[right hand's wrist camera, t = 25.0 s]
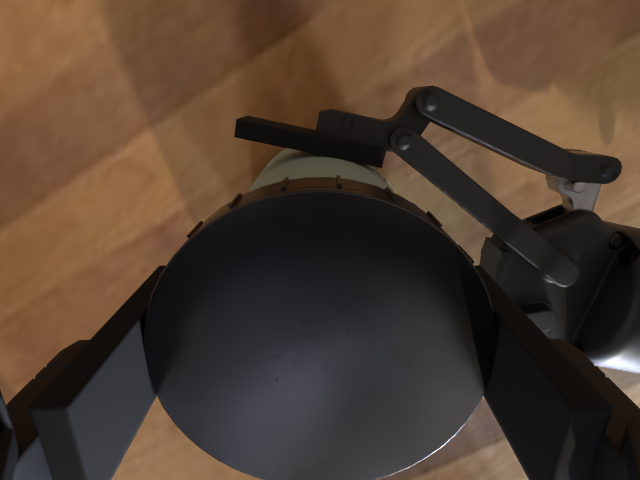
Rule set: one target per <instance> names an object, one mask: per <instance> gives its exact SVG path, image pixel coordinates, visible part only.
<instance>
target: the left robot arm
mask: <svg viewBox="0 0 640 480" xmlns="http://www.w3.org/2000/svg"><path fill="white" fill-rule="evenodd" d="M429 122H432V123H434V124H436V125H438V126H441V127H443V128H445V129H447V130H449V131H451V132H453V133H455V134H457V135H459V136H462V137H464V138H466V139H468V140H470V141H472V142H474V143H476V144H478V145H480V146H483V147H485V148H487V149H489V150H491V151H493V152H495V153H497V154H499V155H501V156H504V157H506V158H508V159H510V160H512V161H514V162H516V163H518V164H520V165H522V166H525V167H527V168H530V169H532V170H535V171H538V172H541V173H544V174H547V175H546V180H547V184H548V187H549V188H550V189H551V190H552V191H555V192H557V193H559V194H560V195H561V196H562V200H563V202H562V204H561V205H558V206H555V207H553V208H550V209H548V210H545V211H543V212H540V213H538V214H535V215H533V216H530V217H528V218H525V219H523V220H521V219H519V218H518V217H517V216H515V215H514V214H513V213H511V212H510V211H509V210H508V209H507V208H505V207H504V206H503V205H502V204H501V203H500V202H498V201H497V200H496V199H495V198H494V197H492V196H491V195H490V194H489V193H488V192H486V191H485V190H484V189H483V188H482V187H481V186H479V185H478V184H477V183H476V182H475V181H473V180H472V179H471V178H470V177H469V176H467V175H466V174H465V173H464V172H463V171H462V170H460V169H459V168H458V167H457V166H456V165H454V164H453V163H452V162H451V161H450V160H448V159H447V158H446V157H445V156H444V155H443V154H441V153H440V152H439V151H438V150H437V149H435V148H434V147H433V146H432V145H431V144H430V143H428V142H427V141H426V140H425V139H424V138H422V137H421V136H420V135H421V134H422V133H423V131H424V130H425V128H426V127H427V125H428V124H429ZM234 137H237V138H242V139H246V140H251V141H256V142H261V143H265V144H270V145H275V146H280V147H284V148H289V149H294V150H299V151H303V152H308V153H313V154H318V155H322V156H327V157H332V158H336V159H342V160H346V161H351V162H355V163H360V164H365V165H370V166H374V167H379V168H382V164H383V160H384V157H385V153H386V151H390V152H394V153H396V154H397V155H398V156H399V157H401V158H402V159H403V160H404V161H406V162H407V163H408V164H409V165H410V166H412V167H413V168H414V169H415V170H417V171H418V172H419V173H420V174H421V175H423V176H424V177H425V178H426V179H428V180H429V181H430V182H431V183H433V184H434V185H435V186H436V187H437V188H439V189H440V190H441V191H442V192H444V193H445V194H446V195H447V196H448V197H450V198H451V199H452V200H453V201H455V202H456V203H457V204H458V205H459V206H461V207H462V208H463V209H464V210H466V211H467V212H468V213H469V214H471V215H472V216H473V217H474V218H475V219H477V220H478V221H479V222H480V223H481V224H483V225H484V226H485V227H486V228H488V229H489V230H490V231H491V232H493V233H494V235H493V236H492V237H491V238H488V237H486V239H485V242H484V244H483V247H482V250H481V259H480V265H479V266H481V267H482V268H483V269H484V270H485V271H486V272H487V273H488V274H489V275H490V276H491V277H492V278H493V279H494V281H495V282H496V283H497V284H498V285H499V286H500V287H501V288H502V289H503V290H504V291H505V292H506V293H507V294H508V295H509V297H510V298H511V299H512V300H513V301H514V302H515V303H516V304H517V305H518V306H519V307H520V308H521V309H522V310H523V312H524V313H525V314H526V315H527V316H528V317H529V318H530V319H531V320H532V321H533V322H534V323H535V324H536V325H537V326H538V328H539V329H540V330H541V331H542V332H543V333H544V334H545V335H546V336H547V337H548V338H549V339H562V340H564V341H566V342H568V343H569V344H571V345H573V346H574V347H576V348H578V349H579V350H581V351H582V352H583V353H584V354H585V355H586V356H587V357H588V358H589V359H590V360H591V361H592V362H593V363H594V365H595V366H601V367H606V368H612V369H617V370H623V371H629V372H634V373H640V229H639V228H634V227H629V226H624V225H620V224H615V223H610V222H605V221H603V220H602V219H601V218H600V217H599V216H598V215H597V214H596V213H594V212H593V209H594V206H595V203H596V200H597V196H598V193H599V190H600V187H601V184H607V183H611V182H613V181H614V180H615V179H617V178H618V177H619V175H620V173H621V169H622V165H621V162H620V161H619V160H618V159H617V158H614V157H610V156H605V155H601V154H596V153H591V152H587V151H582V150H574V149H563V148H561V147H558V146H556V145H554V144H552V143H550V142H548V141H546V140H544V139H542V138H540V137H538V136H536V135H534V134H532V133H530V132H528V131H526V130H524V129H522V128H520V127H518V126H516V125H514V124H512V123H510V122H508V121H506V120H504V119H502V118H500V117H497V116H495V115H493V114H491V113H489V112H487V111H485V110H483V109H481V108H479V107H477V106H475V105H473V104H471V103H469V102H467V101H465V100H463V99H461V98H459V97H457V96H455V95H453V94H451V93H449V92H447V91H445V90H443V89H441V88H438V87H435V86H424V87H416V88H413V89H411V90H410V91H409V92H408V93H407V95H406V98H405V101H404V102H403V104H402V106H401V107H400V109H399V110H398V112H397V113H396V114H395V115H394V116H393V117H391V118H389V119H385V120H381V119H375V118H371V117H366V116H362V115H357V114H352V113H348V112H343V111H339V110H334V109H327V110H322V111H320V112H319V117H318V122H317V128H316V130H311V129H307V128H302V127H298V126H293V125H288V124H284V123H279V122H274V121H270V120H265V119H260V118H256V117H251V116H245V117H242V118H239V119H237V121H236V128H235V136H234ZM385 150H386V151H385Z"/></svg>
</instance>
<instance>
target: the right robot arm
mask: <svg viewBox="0 0 640 480" xmlns="http://www.w3.org/2000/svg"><path fill="white" fill-rule="evenodd" d="M165 267H166V266H159V267H158V268H157V269H156V270H155V271H154V272H153V273H152V274H151V275H150V277H149V278H148V279H147V280H146V281H145V282H144V283H143V284H142V285H141V286H140V287H139V288H138V289H137V290H136V291H135V293H134V294H133V295H132V296H131V297H130V298H129V299H128V300H127V301H126V302H125V303H124V304H123V305H122V306H121V308H120V309H119V310H118V311H117V312H116V313H115V314H114V315H113V316H112V317H111V318H110V319H109V320H108V321H107V322H106V324H105V325H104V326H103V327H102V328H101V329H100V330H99V331H98V332H97V333H96V334H95V335H94V336H93V337H92V338H91V340H79V341H77V342H75V343H74V344H72V345H70V346H69V347H67V348H65V349H64V350H62V351H60V352H59V353H58V354H57V355H56V356H55V357H54V358H53V359H52V360H51V361H50V362H49V363H48V364H47V367H46V368H43V369H42V370H41V371H40V372H39V373H38V374H37V375H36V376H35V379H32V380H31V381H30V382H29V383H28V384H27V385H26V386H25V387H24V388H23V389H22V390H21V391H20V392H19V393H18V394H17V395H16V396H15V397H14V398H13V399H12V400H11V401H10V402H9V403H8V404H7V405H5V402H4V399H3V396H2V393H1V390H0V480H111V479H112V477H113V475H114V473H115V472H116V470H117V468H118V466H119V464H120V462H121V461H122V459H123V457H124V455H125V453H126V451H127V449H128V448H129V446H130V444H131V442H132V440H133V438H134V437H135V435H136V433H137V431H138V429H139V427H140V425H141V424H142V422H143V420H144V418H145V416H146V414H147V413H148V411H149V409H150V407H151V405H152V403H153V402H154V400H155V398H156V396H157V395H156V393H155V391H154V388H153V385H152V382H151V380H150V377H149V374H148V369H147V363H146V358H145V352H144V326H145V317H146V312H147V308H148V305H149V301H150V297H151V294H152V292H153V290H154V288H155V285H156V283H157V281H158V279H159V277H160V276H159V274H160V272H161V271H162V270H163V269H164V268H165ZM475 268H476V269H477V271H478V272H479V274H480V276H481V278H482V280H483V282H484V284H485V286H486V288H487V290H488V293H489V297H490V300H491V303H492V306H493V309H494V315H495V322H496V328H497V347H496V354H495V359H494V365H493V370H492V375H491V378H490V381H489V384H488V387H487V389H486V391H485V393H484V395H483V396H484V397H485V399H486V401H487V403H488V405H489V407H490V408H491V410H492V412H493V414H494V416H495V418H496V420H497V421H498V423H499V425H500V427H501V429H502V431H503V432H504V434H505V436H506V438H507V440H508V442H509V444H510V445H511V447H512V449H513V451H514V453H515V455H516V456H517V458H518V460H519V462H520V464H521V466H522V467H523V469H524V471H525V473H526V475H527V477H528V479H529V480H640V408H639V407H638V406H637V405H636V404H635V403H634V402H633V401H632V400H631V399H629V398H628V397H627V396H626V395H625V394H624V393H623V392H622V391H621V390H620V389H619V388H618V387H617V386H616V385H615V384H614V383H613V382H612V381H611V380H610V379H609V378H606V377H605V374H604V373H603V372H602V371H601V370H600V369H599V368H598V367H597V366H594V363H593V362H592V361H591V360H590V359H589V358H588V357H587V356H586V355H585V354H584V353H583V352H582V351H581V350H579V349H578V348H576V347H574V346H573V345H571V344H569V343H568V342H566V341H564V340H562V339H549V338H548V337H547V336H546V335H545V334H544V333H543V332H542V331H541V330H540V329H539V328H538V326H537V325H536V324H535V323H534V322H533V321H532V320H531V319H530V318H529V317H528V316H527V315H526V314H525V313H524V312H523V310H522V309H521V308H520V307H519V306H518V305H517V304H516V303H515V302H514V301H513V300H512V299H511V298H510V297H509V295H508V294H507V293H506V292H505V291H504V290H503V289H502V288H501V287H500V286H499V285H498V284H497V283H496V282H495V281H494V279H493V278H492V277H491V276H490V275H489V274H488V273H487V272H486V271H485V270H484V269H483V268H482V267H481V266H475Z"/></svg>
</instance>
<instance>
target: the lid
mask: <svg viewBox="0 0 640 480" xmlns="http://www.w3.org/2000/svg"><path fill="white" fill-rule="evenodd" d="M441 226H442V224H441V223H440V222H439V221H438V220H437V219H436V218H435V217H434V216H433V215H432V214H431V213H430V212H429V211H428V212H427V213H425V212H424V211H423V210H421V209H420V208H419V207H417V206H416V205H415V204H413V203H411V202H409V201H408V200H406V199H404V198H402V197H401V196H399V195H397V194H395V193H393V192H392V191H391V189H390V188H388V187H386V188H385V189H383V188H380V187H378V186H375V185H371V184H368V183H364V182H360V181H356V180H351V179H342V178H341V177H340V175H336V178H334V177H305V178H298V179H291V180H289V178H288V177H286V178H284V180H283V181H280V182H277V183H273V184H270V185H266V186H263V187H260V188H257V189H255V190H253V191H250V192H248V193H246V194H244V195H241V194H240V193H239V194H237V195H236V196H235V198H234V199H233V200H232V201H231V202H229V203H228V204H226V205H225V206H223V207H221V208H220V209H219V210H218V211H216V212H215V213H214V214H213V215H212V216H210V217H209V218H208V219H207V220H206V221H205V222H204V223H203V222H202V221H200V222H199V223H198V224H197V225H196V226H195V228H194V229H193V230H192V231H191V232H190V233H189V234H188V235H187V237H188V238H189V239H188V240H187V241H186V242H185V244H184V245H183V246H182V247H181V248H180V249H179V250H178V251H177V252H176V253H175V255H174V256H173V257H172V258H171V260H170V261H169V263H168V264H167V266H166V267H165V268H164V269H163V270H162V271H161V272H160V274H159V276H160V277H159V279H158V281H157V283H156V285H155V288H154V290H153V292H152V294H151V297H150V301H149V305H148V308H147V312H146V317H145V326H144V352H145V358H146V363H147V369H148V374H149V377H150V380H151V382H152V385H153V388H154V391H155V393H156V395H157V397H158V398H159V400H160V402H161V404H162V406H163V408H164V409H165V411H166V412H167V413H168V415H169V416H170V418H171V419H172V420H173V422H174V423H175V424H176V425H177V427H178V428H179V429H180V430H181V431H182V432H183V433H184V434H185V435H186V436H187V437H188V438H189V439H190V440H191V441H192V442H194V443H195V444H196V445H197V446H198V447H200V448H201V449H202V450H203V451H205V452H206V453H208V454H209V455H211V456H212V457H214V458H215V459H217V460H218V461H220V462H222V463H224V464H226V465H228V466H230V467H232V468H234V469H236V470H238V471H240V472H243V473H246V474H248V475H251V476H253V477H256V478H260V479H263V480H377V479H380V478H384V477H387V476H390V475H393V474H395V473H397V472H400V471H402V470H404V469H407V468H409V467H411V466H413V465H414V464H416V463H418V462H420V461H422V460H424V459H425V458H427V457H428V456H430V455H431V454H432V453H434V452H435V451H437V450H438V449H440V448H441V447H442V446H443V445H444V444H446V443H447V442H448V441H449V440H450V439H451V438H452V437H453V436H455V435H456V434H457V432H458V431H459V430H460V429H461V428H462V427H463V426H464V424H465V423H466V422H467V421H468V420H469V418H470V417H471V415H472V414H473V412H474V411H475V410H476V408H477V407H478V405H479V403H480V401H481V399H482V397H483V395H484V393H485V391H486V389H487V387H488V384H489V381H490V378H491V375H492V370H493V365H494V359H495V354H496V347H497V328H496V322H495V315H494V309H493V306H492V303H491V300H490V297H489V293H488V290H487V288H486V286H485V284H484V282H483V280H482V278H481V276H480V274H479V272H478V271H477V269H476V268H475V266H474V265H473V263H474V261H473V259H472V258H471V257H470V256H469V255H468V254H467V253H466V252H465V251H464V250H463V249H462V248H461V246H460V245H457V244H456V243H455V242H454V240H453V239H452V238H451V237H450V236H449V235H448V234H447V233H446V232H445V231H444V230H443V229H442V228H441Z"/></svg>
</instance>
